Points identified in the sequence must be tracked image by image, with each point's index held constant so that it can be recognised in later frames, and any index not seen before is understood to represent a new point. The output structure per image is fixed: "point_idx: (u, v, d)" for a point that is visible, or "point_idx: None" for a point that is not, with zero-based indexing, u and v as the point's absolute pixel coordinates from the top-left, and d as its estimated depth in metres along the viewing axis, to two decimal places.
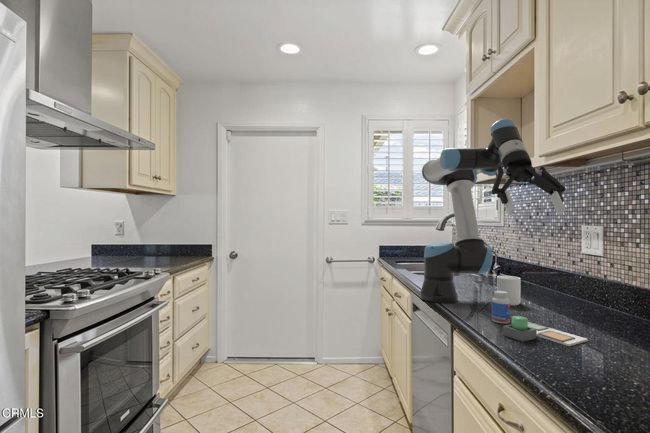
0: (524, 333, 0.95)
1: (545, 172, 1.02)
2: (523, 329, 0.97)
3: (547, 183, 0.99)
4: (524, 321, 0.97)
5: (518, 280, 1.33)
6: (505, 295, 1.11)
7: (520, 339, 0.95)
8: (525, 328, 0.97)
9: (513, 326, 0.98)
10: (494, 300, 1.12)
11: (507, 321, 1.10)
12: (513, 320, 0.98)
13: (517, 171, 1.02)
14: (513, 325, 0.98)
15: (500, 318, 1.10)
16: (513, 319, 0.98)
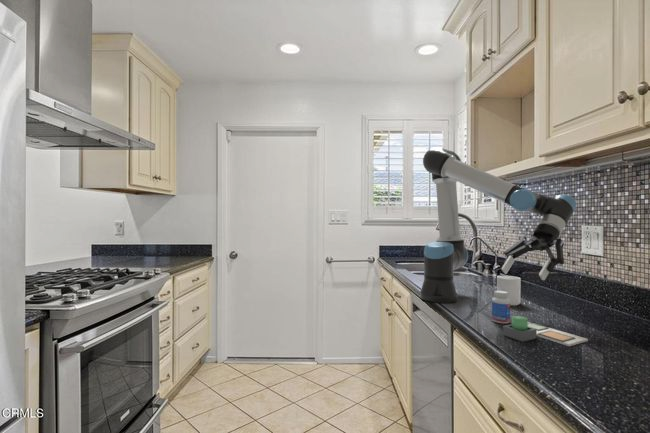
0: (524, 333, 0.95)
1: None
2: (523, 329, 0.97)
3: None
4: (524, 321, 0.97)
5: (518, 280, 1.33)
6: (505, 295, 1.11)
7: (520, 339, 0.95)
8: (525, 328, 0.97)
9: (513, 326, 0.98)
10: (494, 300, 1.12)
11: (507, 321, 1.10)
12: (513, 320, 0.98)
13: None
14: (513, 325, 0.98)
15: (500, 318, 1.10)
16: (513, 319, 0.98)
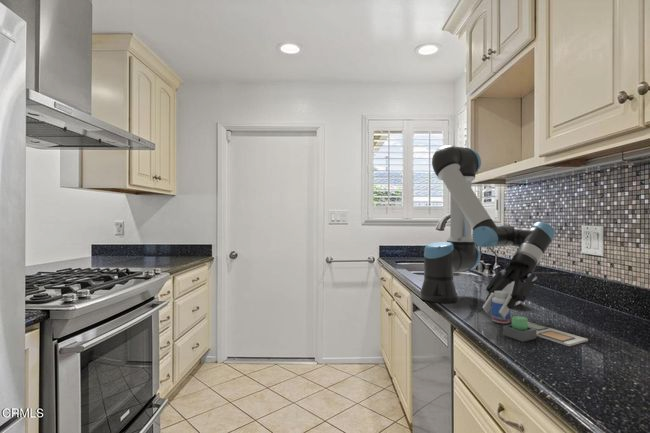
0: (524, 333, 0.95)
1: None
2: (523, 329, 0.97)
3: None
4: (524, 321, 0.97)
5: None
6: (505, 295, 1.11)
7: (520, 339, 0.95)
8: (525, 328, 0.97)
9: (513, 326, 0.98)
10: (494, 300, 1.12)
11: (507, 321, 1.10)
12: (513, 320, 0.98)
13: None
14: (513, 325, 0.98)
15: (500, 318, 1.10)
16: (513, 319, 0.98)
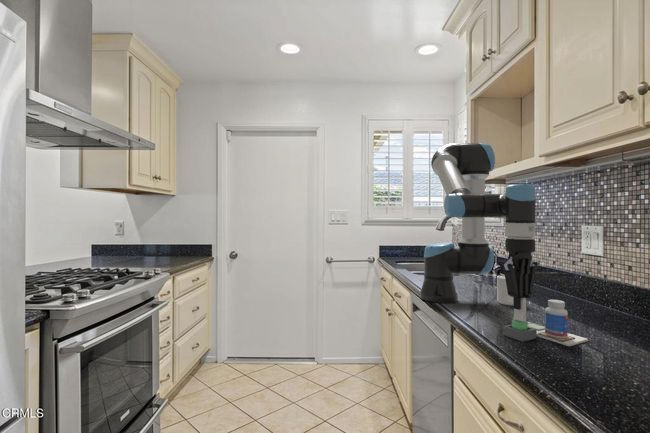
0: (524, 333, 0.95)
1: (534, 269, 0.99)
2: None
3: (526, 284, 0.98)
4: (524, 324, 0.97)
5: None
6: (562, 305, 0.95)
7: (520, 339, 0.95)
8: None
9: None
10: (549, 311, 0.97)
11: (565, 335, 0.95)
12: (513, 323, 0.98)
13: (523, 265, 0.96)
14: None
15: (556, 332, 0.95)
16: (513, 322, 0.98)
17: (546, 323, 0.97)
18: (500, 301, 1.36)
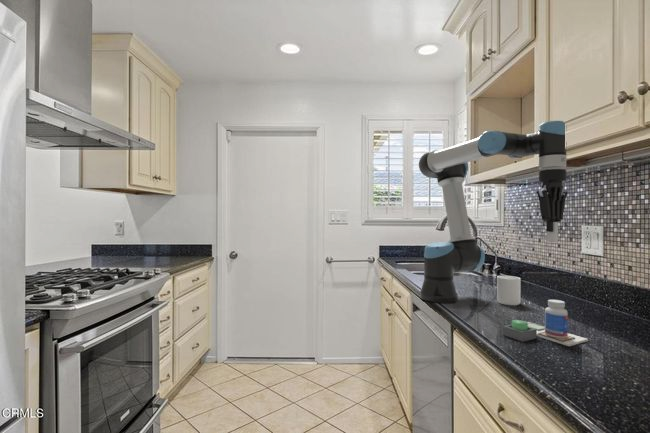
0: (524, 333, 0.95)
1: (564, 197, 1.13)
2: None
3: (558, 209, 1.11)
4: (524, 325, 0.97)
5: (518, 280, 1.33)
6: (562, 305, 0.95)
7: (520, 339, 0.95)
8: None
9: None
10: (549, 311, 0.97)
11: (565, 335, 0.95)
12: (513, 324, 0.98)
13: (555, 192, 1.10)
14: None
15: (556, 332, 0.95)
16: (513, 323, 0.98)
17: (546, 323, 0.97)
18: (500, 301, 1.36)
